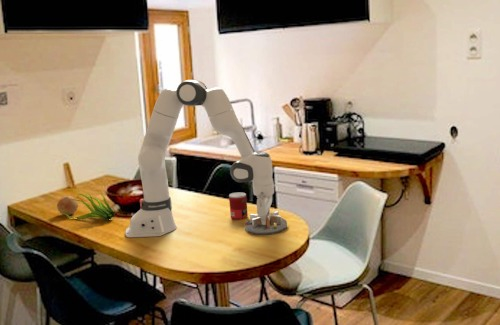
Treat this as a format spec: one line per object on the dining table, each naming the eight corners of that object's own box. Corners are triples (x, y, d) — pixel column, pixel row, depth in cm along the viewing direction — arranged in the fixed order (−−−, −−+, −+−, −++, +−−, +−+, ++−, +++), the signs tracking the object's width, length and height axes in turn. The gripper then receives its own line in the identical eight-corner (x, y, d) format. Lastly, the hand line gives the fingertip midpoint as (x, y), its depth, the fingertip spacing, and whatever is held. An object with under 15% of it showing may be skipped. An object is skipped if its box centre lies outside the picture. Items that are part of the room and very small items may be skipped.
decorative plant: (89, 209, 275) (85, 182, 272) (117, 219, 253) (113, 190, 250) (55, 218, 263) (51, 190, 260) (82, 230, 241) (77, 199, 238)
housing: (247, 237, 217) (247, 227, 216) (243, 223, 234) (242, 213, 233) (290, 232, 219) (290, 222, 218) (283, 218, 236) (282, 209, 235)
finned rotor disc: (283, 226, 220) (282, 218, 219) (253, 229, 218) (253, 221, 218) (277, 216, 233) (276, 208, 233) (249, 219, 232) (248, 211, 231)
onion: (57, 214, 269) (54, 195, 267) (78, 210, 273) (75, 192, 271) (59, 219, 261) (56, 199, 259) (79, 215, 264) (77, 196, 262)
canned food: (246, 219, 239) (244, 196, 236) (229, 220, 240) (227, 197, 238) (249, 214, 246) (247, 191, 243) (232, 214, 247) (230, 192, 245)
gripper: (267, 196, 212) (269, 228, 215) (273, 182, 232) (276, 212, 235) (252, 196, 213) (254, 229, 216) (259, 183, 233) (262, 212, 236)
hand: (265, 220), depth 226 cm, fingers open, 8 cm apart
